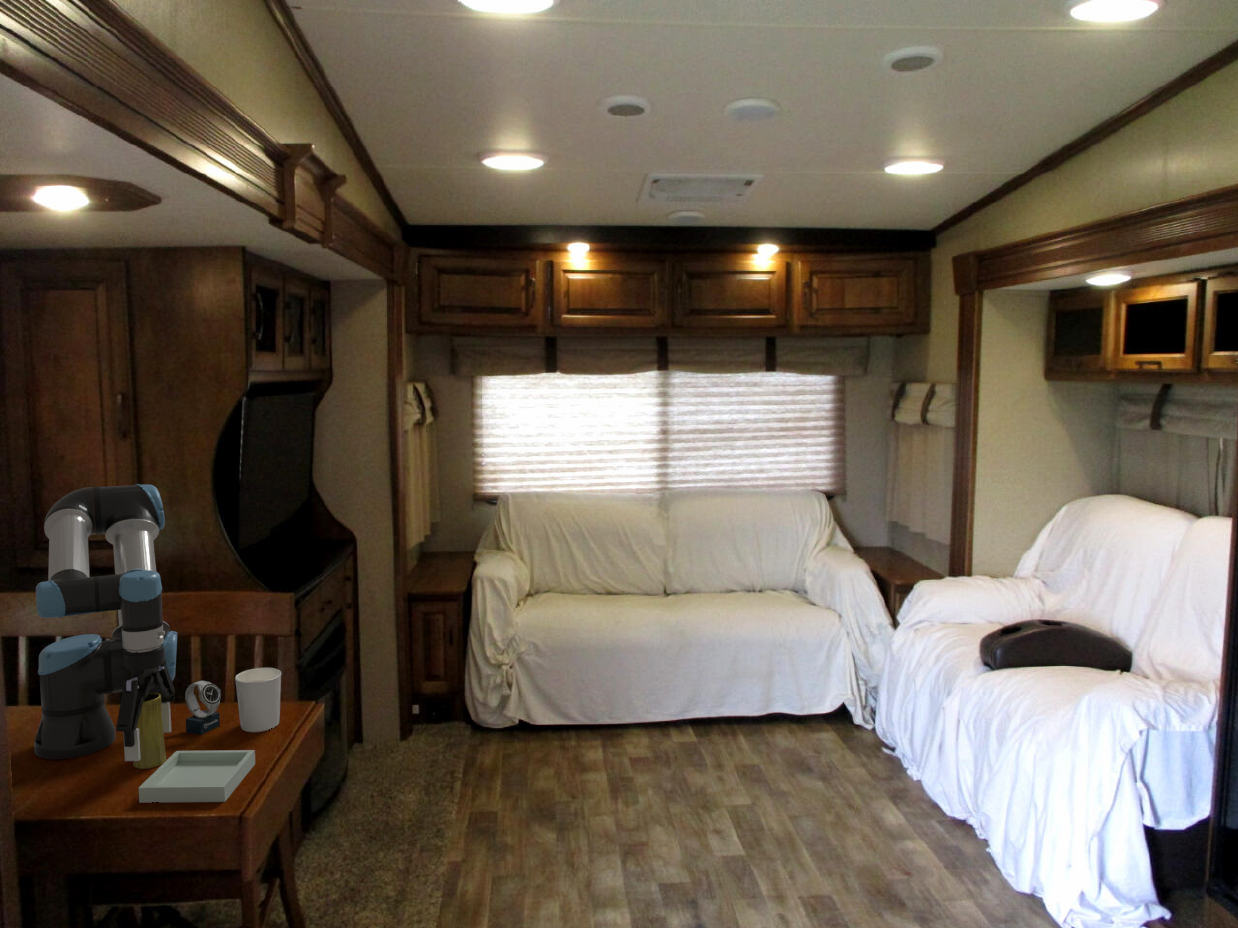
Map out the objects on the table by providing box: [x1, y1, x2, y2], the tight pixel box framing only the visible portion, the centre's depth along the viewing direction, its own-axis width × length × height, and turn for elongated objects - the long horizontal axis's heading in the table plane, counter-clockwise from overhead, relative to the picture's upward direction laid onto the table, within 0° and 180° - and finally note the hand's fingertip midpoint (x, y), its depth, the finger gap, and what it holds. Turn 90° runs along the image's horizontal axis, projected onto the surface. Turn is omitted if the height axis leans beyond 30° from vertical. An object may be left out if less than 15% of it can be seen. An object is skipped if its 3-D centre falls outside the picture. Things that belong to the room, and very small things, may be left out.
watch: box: [184, 680, 222, 736], centre depth 202 cm, size 6×8×11 cm
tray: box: [138, 749, 256, 804], centre depth 177 cm, size 16×16×3 cm
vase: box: [132, 692, 167, 770], centre depth 185 cm, size 6×6×14 cm
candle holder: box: [234, 667, 282, 733], centre depth 205 cm, size 10×10×12 cm
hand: (149, 745), depth 185 cm, fingers open, 13 cm apart
